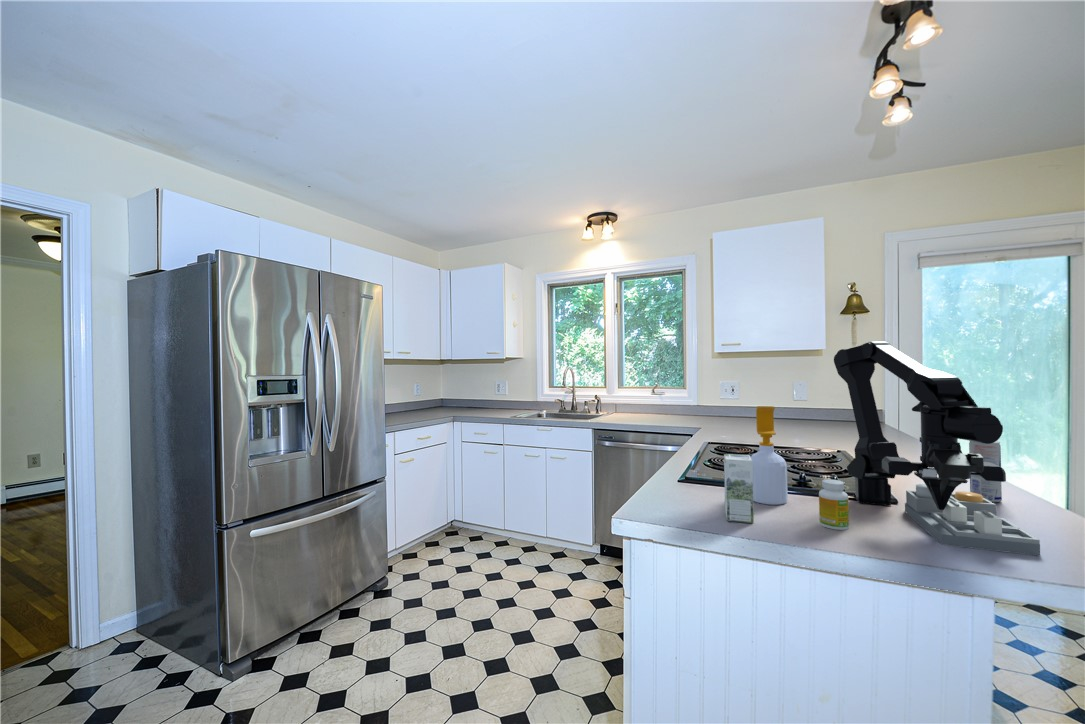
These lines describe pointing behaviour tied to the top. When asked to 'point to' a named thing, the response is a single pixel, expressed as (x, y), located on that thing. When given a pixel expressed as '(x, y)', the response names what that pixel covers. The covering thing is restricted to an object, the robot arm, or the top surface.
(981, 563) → the top surface
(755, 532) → the top surface
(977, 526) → the slider
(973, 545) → the panel
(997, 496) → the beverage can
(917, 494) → the button
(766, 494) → the soap bottle
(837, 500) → the supplement bottle
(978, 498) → the button
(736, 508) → the syrup box
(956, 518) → the slider
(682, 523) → the top surface
